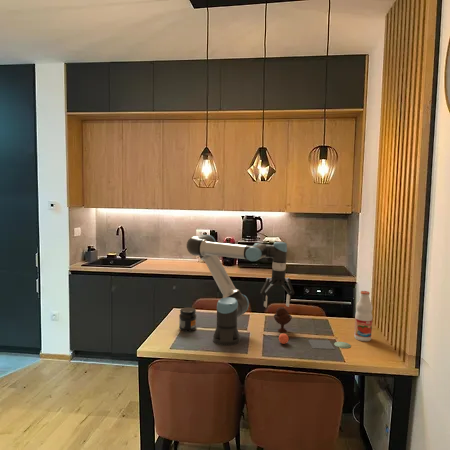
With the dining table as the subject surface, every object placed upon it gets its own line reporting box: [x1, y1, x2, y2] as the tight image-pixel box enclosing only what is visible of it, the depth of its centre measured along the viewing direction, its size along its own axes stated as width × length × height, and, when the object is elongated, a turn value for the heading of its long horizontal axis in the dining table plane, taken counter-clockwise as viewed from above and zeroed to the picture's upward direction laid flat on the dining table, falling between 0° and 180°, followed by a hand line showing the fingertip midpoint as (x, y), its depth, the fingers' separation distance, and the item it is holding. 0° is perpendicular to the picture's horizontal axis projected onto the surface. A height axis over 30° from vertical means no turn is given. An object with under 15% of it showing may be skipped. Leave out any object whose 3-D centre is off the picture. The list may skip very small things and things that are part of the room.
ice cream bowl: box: [273, 306, 293, 333], centre depth 231 cm, size 11×11×15 cm
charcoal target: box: [307, 339, 336, 350], centre depth 211 cm, size 12×12×1 cm
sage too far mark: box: [333, 341, 352, 349], centre depth 211 cm, size 9×9×1 cm
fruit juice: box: [353, 290, 374, 342], centre depth 221 cm, size 9×9×28 cm
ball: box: [278, 333, 289, 345], centre depth 211 cm, size 6×6×6 cm
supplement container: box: [178, 307, 197, 332], centre depth 231 cm, size 10×10×12 cm
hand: (276, 306), depth 214 cm, fingers open, 13 cm apart
